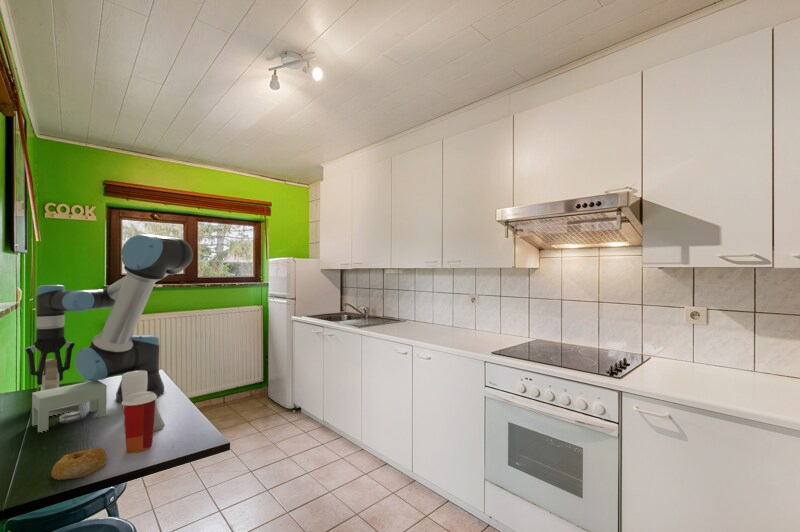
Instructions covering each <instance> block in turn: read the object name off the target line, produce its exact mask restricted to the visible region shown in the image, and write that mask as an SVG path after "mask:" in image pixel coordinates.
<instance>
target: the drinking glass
mask: <svg viewBox="0 0 800 532" xmlns="http://www.w3.org/2000/svg"><path fill="white" fill-rule="evenodd" d="M121 379H122V381H121V380H120V382H121V388H122V399H123V400H124V398H125V397H126V396H128V395H130V394H134V393H138V392H147V383H148V376H147V371H143V370H141V371H132V372H127V373H124V374H121ZM122 406H123V405H122ZM123 410H124V406H123Z"/></svg>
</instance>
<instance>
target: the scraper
mask: <svg viewBox="0 0 800 532" xmlns="http://www.w3.org/2000/svg"><path fill="white" fill-rule="evenodd" d="M57 372H58V371H57V359H55V358H50V359H46V361H45V366H44V370H43V374H44V375H45V390H48V389H53V388H57ZM78 411H79V404H75V405H70V406H66V407H61V408H57V409H52V410H49V416H52V417H54V416H53V415H56V416H59V415H58V414H60V415H63V413H64V414H66V413H68V412H69V413H70V412H78Z"/></svg>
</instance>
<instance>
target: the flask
mask: <svg viewBox="0 0 800 532" xmlns="http://www.w3.org/2000/svg"><path fill="white" fill-rule="evenodd" d="M155 396H156V397H157V398H158V396H157V395H156V394H155ZM157 398H156V399H155V414H154V428H153V433H154V432H157V431H159V430H162V429H163V427H164V426H165V422H164V419H163V417H162V416H161V413H160V411H159V409H158V406H157V405H158V404H157V402H156V401H157Z"/></svg>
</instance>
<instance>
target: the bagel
mask: <svg viewBox="0 0 800 532" xmlns="http://www.w3.org/2000/svg"><path fill="white" fill-rule="evenodd" d="M107 457H108V456H107V452H106V450H104V448H102V447H99V446H98V447H94V448H85V449H82V450H79V451H76V452H72V453H67V454H64V455H63V456H62V457H61V458H60V459H59V460H58V461H57V462H56V463H55V464H54V466H53V467H52V470H51V473H50V475H51V477H52V478H53V479H54V480H57V481H62V480H69V479H70V480H71V479H72V480H73V479H79V478H83V477H86V476H89V475H92V474H93V473H95V472H97V471H99V470H100V469H101V468H103V467H104V465H105V464H106V461H107V460H108V459H107Z"/></svg>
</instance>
